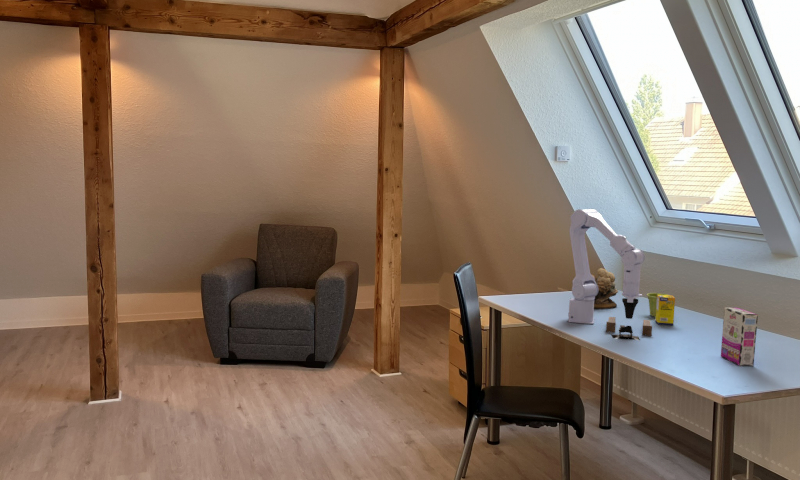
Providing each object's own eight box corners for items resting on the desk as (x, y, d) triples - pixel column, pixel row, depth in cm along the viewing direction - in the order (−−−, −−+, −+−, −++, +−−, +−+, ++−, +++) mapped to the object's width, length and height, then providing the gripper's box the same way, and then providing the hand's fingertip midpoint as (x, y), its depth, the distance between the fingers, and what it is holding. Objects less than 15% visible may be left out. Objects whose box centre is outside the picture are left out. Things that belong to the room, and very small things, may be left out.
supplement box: (673, 325, 266) (675, 297, 265) (657, 324, 268) (659, 297, 266) (670, 322, 272) (672, 295, 271) (654, 321, 273) (656, 294, 272)
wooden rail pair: (606, 331, 254) (606, 322, 254) (607, 323, 267) (608, 314, 267) (651, 336, 249) (652, 326, 249) (650, 327, 262) (651, 318, 262)
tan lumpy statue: (608, 303, 309) (611, 265, 307) (624, 308, 298) (627, 269, 296) (573, 304, 304) (575, 266, 302) (588, 310, 293) (590, 270, 291)
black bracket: (642, 338, 248) (643, 325, 248) (645, 343, 241) (645, 330, 241) (606, 335, 251) (607, 322, 250) (608, 340, 244) (609, 327, 243)
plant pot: (666, 319, 277) (667, 298, 276) (642, 316, 283) (643, 295, 282) (672, 315, 285) (674, 295, 284) (649, 312, 290) (651, 292, 289)
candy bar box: (754, 366, 213) (759, 314, 211) (739, 366, 213) (743, 314, 211) (734, 356, 224) (738, 306, 222) (719, 356, 224) (723, 306, 222)
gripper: (643, 286, 245) (640, 323, 247) (643, 279, 259) (640, 315, 260) (622, 284, 247) (619, 321, 249) (623, 278, 261) (620, 313, 262)
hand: (629, 318), depth 255 cm, fingers closed
